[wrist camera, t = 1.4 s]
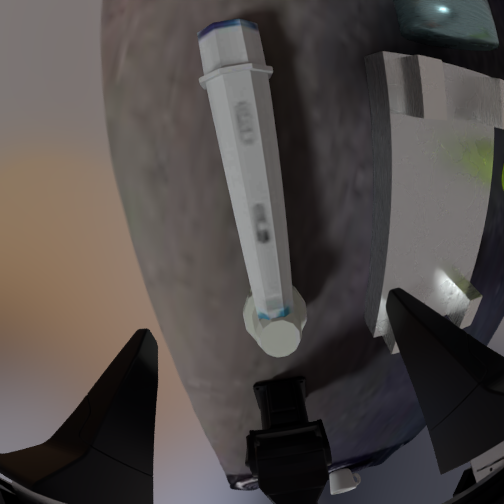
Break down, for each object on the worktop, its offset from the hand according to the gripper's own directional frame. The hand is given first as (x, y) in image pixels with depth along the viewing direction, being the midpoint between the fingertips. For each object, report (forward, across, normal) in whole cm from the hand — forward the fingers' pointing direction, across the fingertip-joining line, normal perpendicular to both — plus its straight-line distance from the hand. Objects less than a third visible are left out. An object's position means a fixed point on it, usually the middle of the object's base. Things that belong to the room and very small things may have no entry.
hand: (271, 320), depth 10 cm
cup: (+5, -16, +88) cm, 90 cm away
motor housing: (+13, -16, 0) cm, 21 cm away
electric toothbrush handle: (+13, 0, +1) cm, 13 cm away
